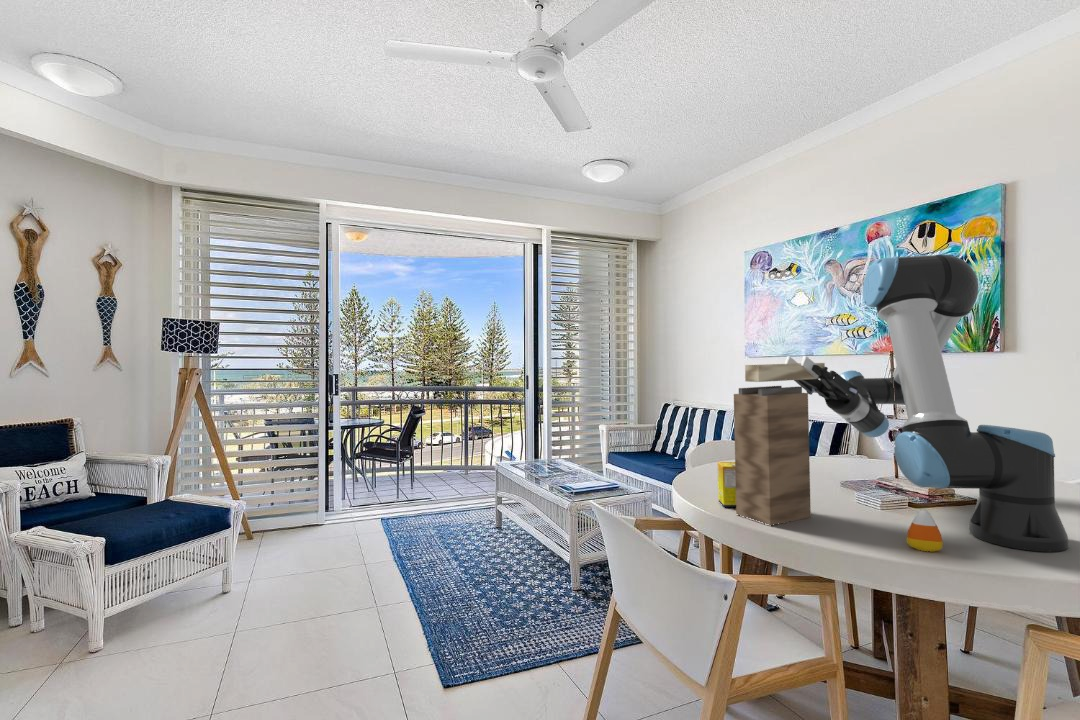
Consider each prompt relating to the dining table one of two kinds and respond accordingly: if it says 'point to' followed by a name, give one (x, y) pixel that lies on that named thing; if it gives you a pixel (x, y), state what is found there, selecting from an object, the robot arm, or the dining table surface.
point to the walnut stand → (772, 454)
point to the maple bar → (777, 372)
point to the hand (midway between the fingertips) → (794, 360)
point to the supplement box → (727, 484)
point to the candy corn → (924, 533)
